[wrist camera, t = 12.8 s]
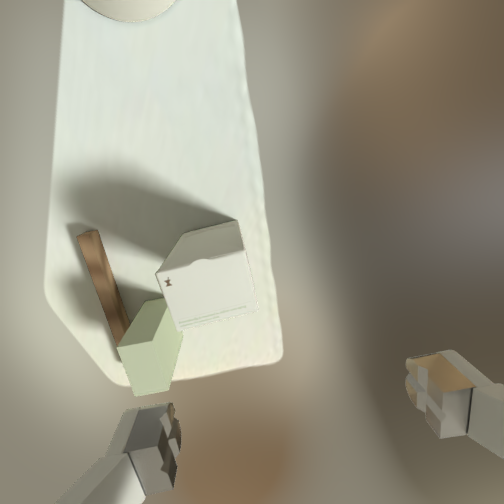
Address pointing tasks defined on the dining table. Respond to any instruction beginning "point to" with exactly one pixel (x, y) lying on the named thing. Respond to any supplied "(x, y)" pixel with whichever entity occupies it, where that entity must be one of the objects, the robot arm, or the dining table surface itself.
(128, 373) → the sage tea box
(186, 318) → the skincare box
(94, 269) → the rail
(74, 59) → the dining table surface
